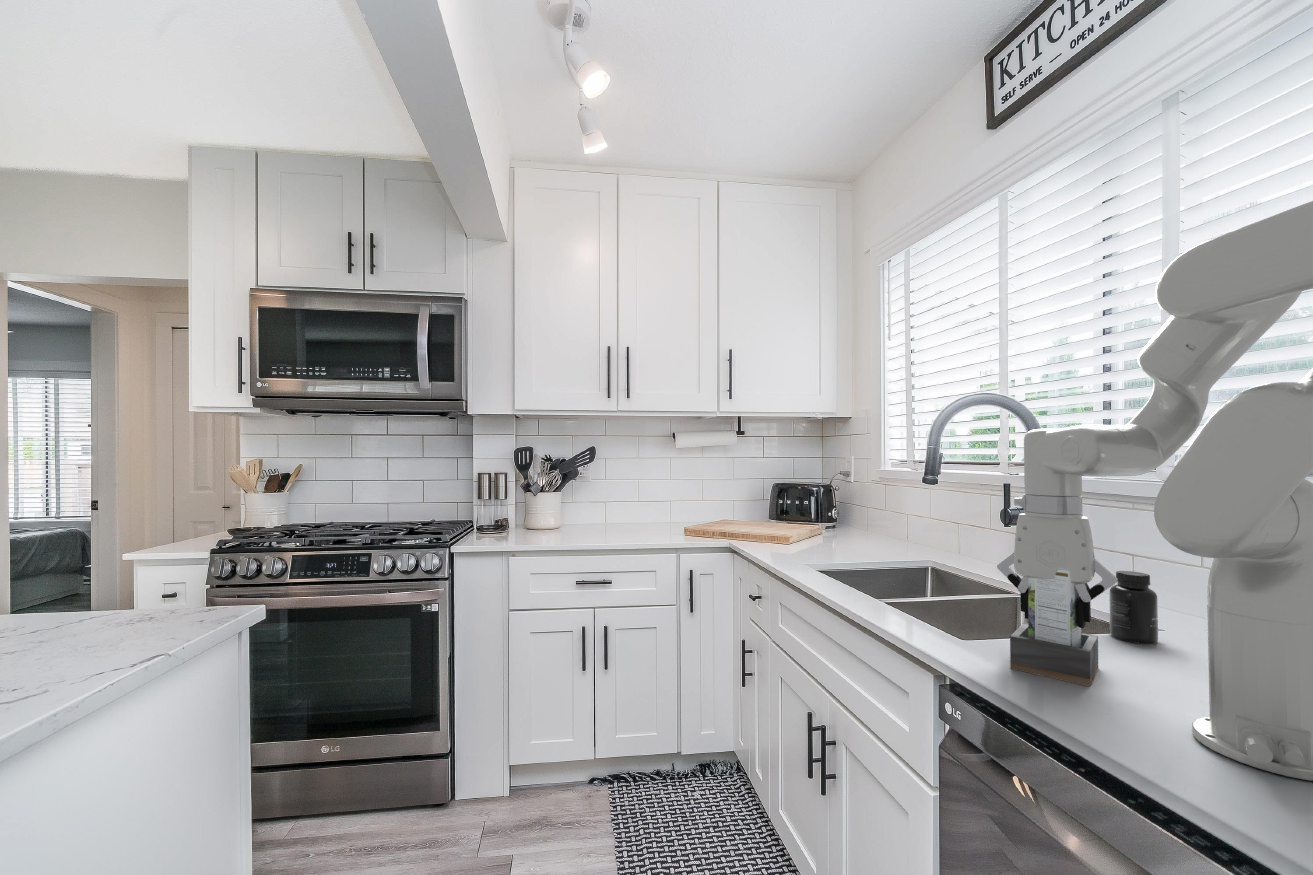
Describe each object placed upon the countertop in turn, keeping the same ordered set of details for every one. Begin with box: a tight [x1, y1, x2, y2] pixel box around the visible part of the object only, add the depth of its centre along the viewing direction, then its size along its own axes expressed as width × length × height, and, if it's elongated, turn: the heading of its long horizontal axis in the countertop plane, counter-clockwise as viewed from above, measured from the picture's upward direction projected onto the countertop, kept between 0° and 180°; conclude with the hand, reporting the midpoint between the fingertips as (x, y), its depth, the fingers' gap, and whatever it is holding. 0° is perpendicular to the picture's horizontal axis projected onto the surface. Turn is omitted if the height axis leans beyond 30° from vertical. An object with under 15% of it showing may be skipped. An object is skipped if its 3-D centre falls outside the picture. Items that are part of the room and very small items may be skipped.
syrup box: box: [1027, 568, 1083, 648], centre depth 89 cm, size 6×6×14 cm
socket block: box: [1009, 622, 1099, 687], centre depth 89 cm, size 10×10×5 cm
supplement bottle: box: [1108, 570, 1159, 645], centre depth 104 cm, size 7×7×12 cm
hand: (1054, 620), depth 89 cm, fingers closed on syrup box, 6 cm apart
